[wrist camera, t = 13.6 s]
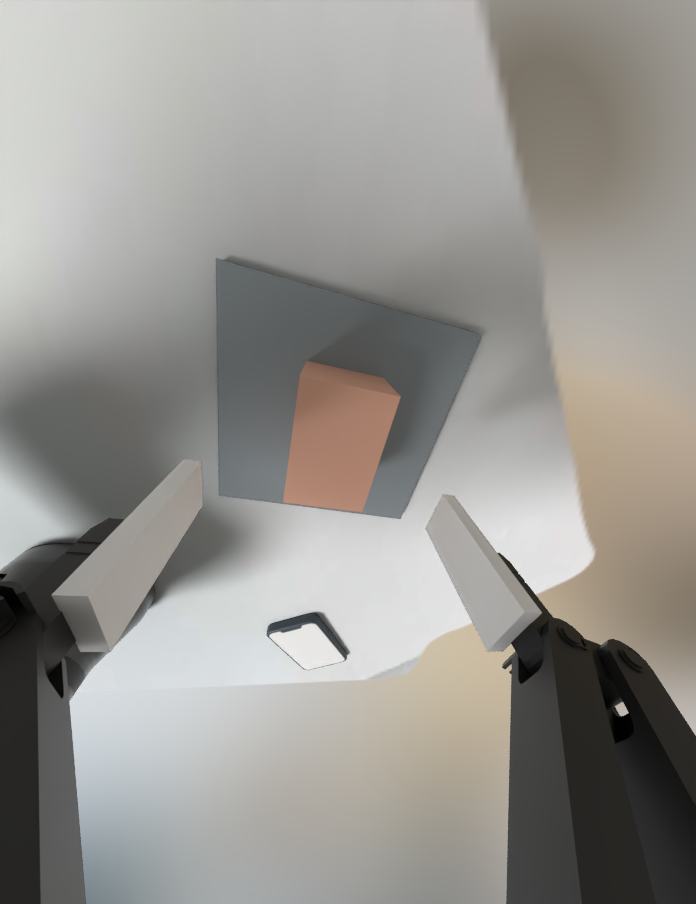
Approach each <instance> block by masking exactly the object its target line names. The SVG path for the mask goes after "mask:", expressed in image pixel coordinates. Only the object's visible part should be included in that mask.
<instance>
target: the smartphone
mask: <svg viewBox="0 0 696 904" xmlns="http://www.w3.org/2000/svg"><path fill="white" fill-rule="evenodd" d="M267 636H268V637H269V638H270V639H271V640H272V641H273V642H274V643H275V644H276V645H277V646H279V647H280V648H281V649H282V650H283V651H284V652H285V653H286V654H287V655H288V656H290V657H291V658H292V659H293V660H294V661H295V662H296V663H297V664H298V665H299V666H301V667H302V668H303V669H305V670H311V669H316V668H320V667H324V666H328V665H332V664H336V663H340V662H344V661H345V660H346V659H347V653H346V651H345V650H344V648H343V647H342V646H341V644H340V643H339V642H338V640H337V639H336V638H335V636H334V635H333V634H332V633H331V631H330V630H329V629H328V627H327V626H326V625H325V623H324V622H323V621H322V620H321V618H320V617H319V616H318V615H317V614H313V613H311V614H306V615H302V616H298V617H295V618H291V619H287V620H283V621H280V622H276V623H272V624H270V625H269V626H268V629H267Z"/></svg>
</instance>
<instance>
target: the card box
mask: <svg viewBox="0 0 696 904" xmlns="http://www.w3.org/2000/svg"><path fill="white" fill-rule="evenodd" d="M400 398H401V396H400V395H399V394H398V393H397V392H396V391H395V390H394V389H393V388H392V386H391V385H390V384H389V383H388V382H387V381H386V380H385V379H384V378H381V377H377V376H373V375H368V374H364V373H359V372H355V371H350V370H346V369H341V368H337V367H332V366H328V365H324V364H319V363H315V362H310V361H306V363H305V365H304V367H303V369H302V372H301V374H300V377H299V385H298V392H297V400H296V408H295V415H294V423H293V430H292V438H291V445H290V453H289V460H288V468H287V476H286V483H285V491H284V498H283V503H291V504H299V505H307V506H315V507H323V508H331V509H339V510H347V511H355V512H363V509H364V506H365V503H366V500H367V497H368V494H369V491H370V488H371V485H372V482H373V479H374V476H375V473H376V470H377V467H378V464H379V461H380V458H381V455H382V452H383V449H384V446H385V443H386V440H387V437H388V434H389V431H390V428H391V425H392V422H393V419H394V416H395V413H396V410H397V407H398V404H399V401H400Z"/></svg>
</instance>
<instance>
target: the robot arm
mask: <svg viewBox="0 0 696 904" xmlns="http://www.w3.org/2000/svg"><path fill="white" fill-rule="evenodd" d="M202 506H203V487H202V464H201V461H197V460H190V459H183V460H182V461H181V462H180V463H179V464H178V465H177V466H176V467H175V469H174V470H173V471H172V472H171V473H170V474H169V475H168V476H167V477H166V478H165V479H164V480H163V481H162V482H161V483H160V484H159V485H158V486H157V487H156V488H155V489H154V490H153V491H152V492H151V493H150V494H149V495H148V496H147V497H146V498H145V499H144V500H143V501H142V502H141V503H140V504H139V505H138V507H137V508H136V509H135V510H134V511H133V512H132V513H131V514H130V515H129V516H128V517H127V518H126V519H125V520H123V519H111V518H109V519H107V520H105V521H104V522H102V523H100V524H98V525H96V526H95V527H93V528H91V529H90V530H89V531H88V532H87V533H86V534H84V535H83V536H82V537H81V538H80V539H79V540H78V541H77V543H76V544H74V545H72V544H50V545H43V546H38V547H34V548H32V549H29V550H27V551H25V552H23V553H22V554H21V555H19V556H18V557H17V558H16V559H14V560H13V561H12V562H10V563H9V564H8V565H7V566H5V567H4V568H3V569H2V570H1V571H0V904H86V897H85V885H84V874H83V863H82V862H83V861H82V849H81V837H80V826H79V814H78V801H77V789H76V777H75V766H74V754H73V741H72V729H71V717H70V706H69V701H70V699H71V698H72V696H73V695H74V693H75V692H76V690H77V689H78V688H79V686H80V685H81V683H82V682H83V680H84V679H85V677H86V676H87V674H88V673H89V672H90V670H91V669H92V668H93V667H94V666H95V665H96V664H97V663H98V662H99V661H100V660H101V659H102V658H103V657H104V656H105V655H106V654H107V653H108V652H111V651H112V649H113V647H114V646H115V645H116V644H117V643H118V642H119V641H120V640H121V639H122V638H123V637H124V636H125V635H127V634H128V633H129V632H130V631H131V630H132V629H133V628H134V627H135V626H136V625H137V624H138V623H139V622H140V620H141V619H142V618H143V616H144V615H145V613H146V612H147V610H148V608H149V607H150V605H151V603H152V602H153V600H154V596H155V590H154V587H153V584H154V582H155V581H156V579H157V577H158V576H159V574H160V573H161V571H162V570H163V568H164V566H165V565H166V563H167V562H168V560H169V558H170V557H171V555H172V554H173V552H174V550H175V549H176V547H177V546H178V544H179V543H180V541H181V539H182V538H183V536H184V535H185V533H186V531H187V530H188V528H189V527H190V525H191V523H192V522H193V520H194V519H195V517H196V516H197V514H198V512H199V511H200V509H201V508H202ZM425 529H426V531H427V533H428V535H429V537H430V539H431V541H432V543H433V545H434V547H435V549H436V551H437V553H438V555H439V557H440V559H441V561H442V563H443V565H444V567H445V569H446V571H447V573H448V575H449V577H450V579H451V581H452V583H453V585H454V587H455V589H456V591H457V593H458V595H459V597H460V599H461V601H462V603H463V605H464V607H465V609H466V611H467V613H468V615H469V617H470V619H471V621H472V623H473V625H474V627H475V629H476V631H477V632H478V635H479V637H480V638H481V641H482V643H483V644H484V646H485V648H486V650H487V651H504V650H505V649H506V648H507V647H508V646H509V645H510V644H512V645H513V647H514V649H515V651H516V652H515V653H514V654H513V655H511V656H510V657H509V658H508V659H507V660H506V661H505V662H504V664H503V667H502V668H504V669H506V668H507V667H508V666H509V665H511V664H512V670H511V671H510V674H512V681H511V683H512V684H511V725H510V770H509V813H508V816H509V817H508V818H509V819H508V858H507V860H508V861H507V902H506V904H696V736H695V734H694V733H693V731H692V730H691V728H690V727H689V725H688V724H687V722H686V721H685V719H684V717H683V716H682V714H681V713H680V711H679V710H678V708H677V707H676V705H675V704H674V702H673V701H672V699H671V697H670V696H669V694H668V693H667V691H666V690H665V688H664V687H663V685H662V684H661V682H660V681H659V679H658V678H657V676H656V675H655V673H654V671H653V670H652V669H651V667H650V666H649V665H648V663H647V662H646V661H645V660H644V659H643V658H642V657H641V656H640V655H639V654H638V653H637V652H636V651H634V650H633V649H632V648H630V647H629V646H627V645H625V644H624V643H622V642H620V641H618V640H614V639H610V640H608V641H606V642H605V643H604V644H602V645H599V644H597V643H594V642H591V641H589V640H586V639H584V638H583V636H582V635H581V634H580V633H579V632H578V631H577V630H576V629H575V628H573V627H572V626H571V625H569V624H568V623H567V622H565V621H563V620H561V619H557V618H553V617H552V615H551V614H550V613H549V612H548V610H547V609H546V608H545V607H544V605H543V604H542V603H541V602H540V600H539V599H538V597H537V596H536V595H535V594H534V592H533V591H532V590H531V588H530V587H529V586H528V585H527V583H525V581H524V579H523V578H522V577H521V576H520V575H519V574H518V572H517V570H516V569H515V568H514V567H513V565H512V564H511V563H510V562H509V561H508V560H507V559H506V558H505V557H504V556H503V555H501V554H500V553H497V552H496V551H495V549H494V548H493V547H492V545H491V544H490V543H489V541H488V540H487V539H486V538H485V536H484V535H483V534H482V532H481V531H480V530H479V528H478V527H477V526H476V524H475V523H474V522H473V520H472V519H471V518H470V516H469V515H468V514H467V512H466V511H465V510H464V508H463V507H462V506H461V504H460V503H459V502H458V500H457V499H456V498H455V496H451V495H444V494H443V495H442V497H441V499H440V501H439V503H438V505H437V507H436V508H435V510H434V512H433V514H432V516H431V518H430V520H429V522H428V524H427V526H426V528H425ZM621 702H624V704H625V706H626V708H627V710H628V712H629V713H628V714H626V715H625V716H620V715H619V714H618V712H617V710H616V708H615V706H616V705H618V704H619V703H621Z"/></svg>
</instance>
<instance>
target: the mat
mask: <svg viewBox="0 0 696 904" xmlns="http://www.w3.org/2000/svg"><path fill="white" fill-rule="evenodd" d="M216 295H217V376H218V457H219V495H220V496H227V497H235V498H243V499H250V500H258V501H266V502H273V503H281V504H289V505H297V506H304V507H312V508H320V509H327V510H335V511H343V512H351V513H358V514H366V515H374V516H381V517H389V518H397V519H401V517H402V514H403V512H404V510H405V508H406V505H407V503H408V501H409V499H410V496H411V494H412V492H413V490H414V487H415V485H416V483H417V481H418V478H419V476H420V474H421V472H422V469H423V467H424V465H425V463H426V460H427V458H428V456H429V454H430V451H431V449H432V447H433V445H434V442H435V440H436V438H437V436H438V434H439V431H440V429H441V427H442V425H443V422H444V420H445V418H446V416H447V413H448V411H449V409H450V407H451V404H452V402H453V400H454V398H455V395H456V393H457V391H458V389H459V386H460V384H461V382H462V380H463V377H464V375H465V373H466V371H467V368H468V366H469V364H470V362H471V360H472V357H473V355H474V353H475V351H476V348H477V346H478V344H479V342H480V339H481V337H482V334H478V333H475V332H471V331H468V330H464V329H461V328H457V327H454V326H450V325H447V324H443V323H440V322H436V321H433V320H429V319H426V318H422V317H419V316H415V315H412V314H408V313H405V312H401V311H398V310H394V309H391V308H387V307H384V306H381V305H377V304H374V303H370V302H367V301H363V300H360V299H356V298H353V297H349V296H346V295H342V294H339V293H335V292H332V291H328V290H325V289H321V288H318V287H314V286H311V285H307V284H304V283H300V282H297V281H293V280H290V279H286V278H283V277H279V276H276V275H272V274H269V273H265V272H262V271H258V270H255V269H251V268H248V267H244V266H241V265H237V264H234V263H231V262H227V261H224V260H220V259H217V258H216ZM306 361H310V362H315V363H319V364H324V365H328V366H332V367H337V368H341V369H346V370H350V371H355V372H359V373H364V374H368V375H373V376H377V377H381V378H384V379H385V380H386V381H387V382H388V383H389V384H390V385H391V386H392V388H393V389H394V390H395V391H396V392H397V393H398V394H399V395H400V396H401V398H400V401H399V404H398V407H397V410H396V413H395V416H394V419H393V422H392V425H391V428H390V431H389V434H388V437H387V440H386V443H385V446H384V449H383V452H382V455H381V458H380V461H379V464H378V467H377V470H376V473H375V476H374V479H373V482H372V485H371V488H370V491H369V494H368V497H367V500H366V503H365V506H364V509H363V512H355V511H347V510H339V509H331V508H323V507H315V506H307V505H299V504H291V503H283V498H284V491H285V483H286V476H287V468H288V460H289V453H290V445H291V438H292V430H293V423H294V415H295V408H296V400H297V392H298V385H299V377H300V374H301V372H302V369H303V367H304V365H305V363H306Z"/></svg>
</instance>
